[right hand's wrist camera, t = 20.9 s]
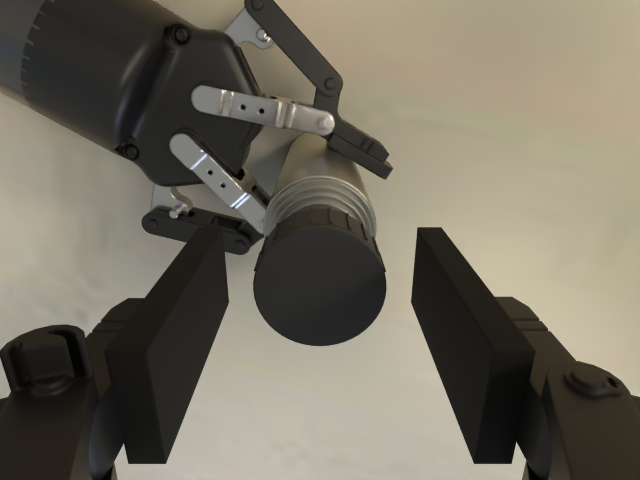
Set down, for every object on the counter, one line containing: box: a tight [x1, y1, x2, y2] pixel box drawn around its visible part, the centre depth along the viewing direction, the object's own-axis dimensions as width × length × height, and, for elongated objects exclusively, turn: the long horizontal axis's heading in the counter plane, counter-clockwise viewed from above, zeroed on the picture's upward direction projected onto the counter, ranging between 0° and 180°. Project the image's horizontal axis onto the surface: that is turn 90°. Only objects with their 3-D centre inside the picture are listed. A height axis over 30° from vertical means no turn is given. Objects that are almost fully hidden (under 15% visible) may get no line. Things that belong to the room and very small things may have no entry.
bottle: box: [263, 132, 376, 239], centre depth 22 cm, size 5×4×18 cm
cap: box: [253, 207, 386, 346], centre depth 14 cm, size 4×4×2 cm
